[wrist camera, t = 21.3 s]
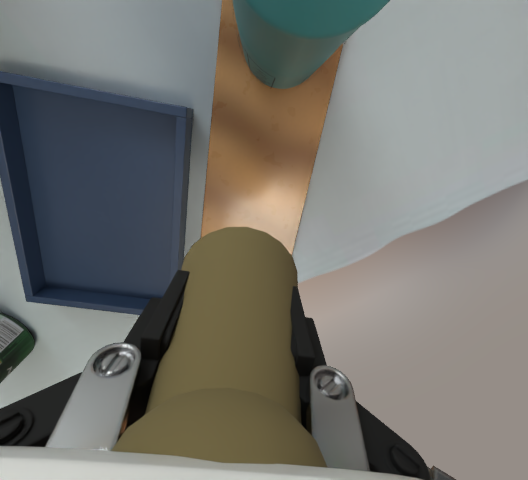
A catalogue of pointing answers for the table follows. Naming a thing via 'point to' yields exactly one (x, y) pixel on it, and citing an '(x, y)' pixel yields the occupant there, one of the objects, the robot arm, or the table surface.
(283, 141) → the orange brown rectangular board
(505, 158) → the table surface
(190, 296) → the pepper shaker
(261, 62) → the beverage bottle
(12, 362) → the coffee jar
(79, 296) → the tray
